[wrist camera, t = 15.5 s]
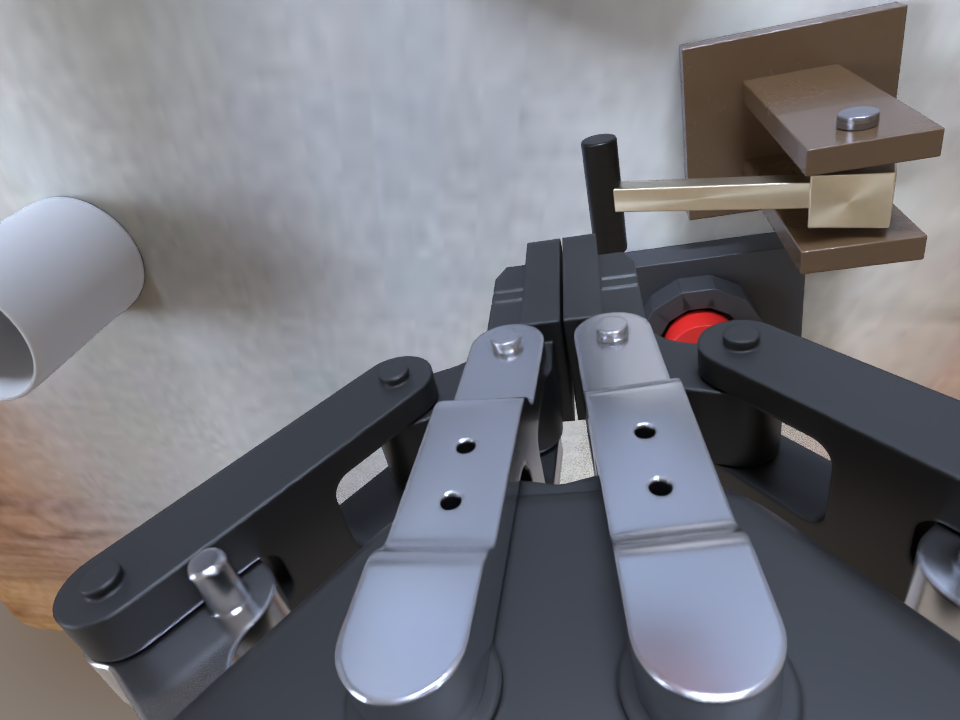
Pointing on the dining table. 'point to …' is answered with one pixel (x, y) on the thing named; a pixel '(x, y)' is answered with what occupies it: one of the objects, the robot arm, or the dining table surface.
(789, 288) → the button box
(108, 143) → the dining table surface
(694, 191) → the lever
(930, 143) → the bracket
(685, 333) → the button
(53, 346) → the mug
